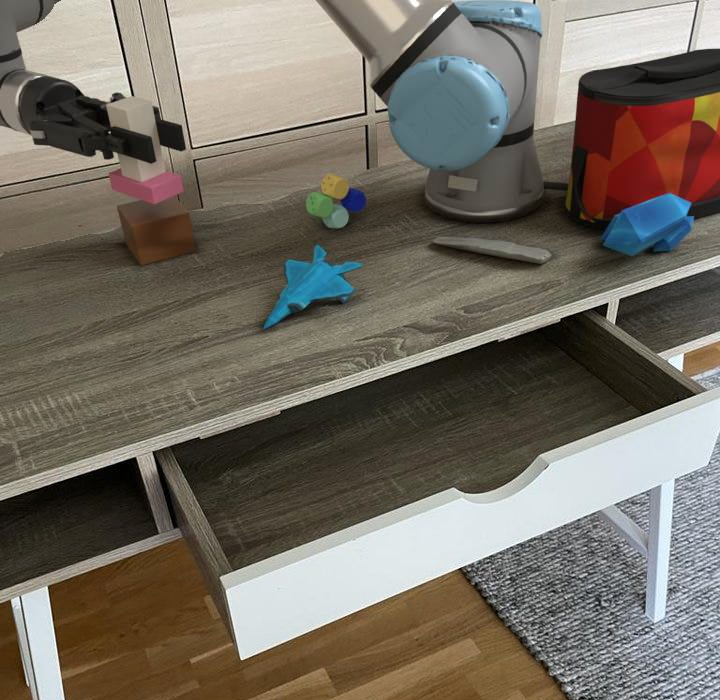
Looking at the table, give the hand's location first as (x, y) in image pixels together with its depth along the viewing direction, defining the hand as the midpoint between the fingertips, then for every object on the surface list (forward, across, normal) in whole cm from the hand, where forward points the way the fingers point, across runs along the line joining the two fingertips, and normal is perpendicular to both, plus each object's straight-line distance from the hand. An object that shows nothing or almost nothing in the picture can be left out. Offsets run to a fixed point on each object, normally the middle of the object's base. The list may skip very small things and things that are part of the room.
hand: (166, 144), depth 95 cm
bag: (+39, -46, -14) cm, 62 cm away
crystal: (+46, -36, -9) cm, 59 cm away
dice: (+9, -18, -14) cm, 24 cm away
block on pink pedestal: (-5, 0, -6) cm, 8 cm away
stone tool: (+29, -24, -13) cm, 40 cm away
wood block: (-5, 0, -14) cm, 15 cm away
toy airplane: (+19, 0, -14) cm, 24 cm away
